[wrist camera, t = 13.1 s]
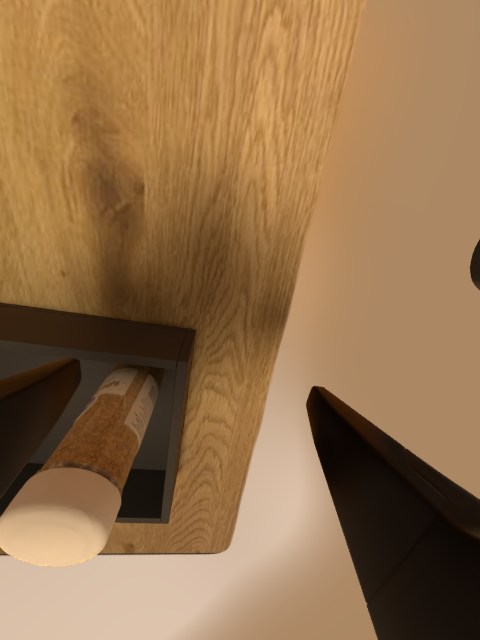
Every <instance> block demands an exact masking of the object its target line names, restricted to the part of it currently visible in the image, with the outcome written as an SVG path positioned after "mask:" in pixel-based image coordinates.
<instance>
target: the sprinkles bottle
mask: <svg viewBox="0 0 480 640" xmlns="http://www.w3.org/2000/svg"><path fill="white" fill-rule="evenodd" d="M166 375H167V369H164V368H155V367H147V366H138V365H129V364H120V363H118V364H117V366H116V367H115V368H114V370H113V371H112V372H111V374H110V375H109V376H108V377H107V378H106V379H105V381H104V382H103V383H102V385H101V386H100V388H99V389H98V390H97V392H96V393H95V395H94V396H93V397H92V399H91V400H90V402H89V403H88V404H87V406H86V407H85V409H84V410H83V411H82V413H81V414H80V415H79V417H78V418H77V419H76V421H75V422H74V424H73V426H72V428H71V429H70V430H69V432H68V433H67V435H66V436H65V437H64V439H63V440H62V441H61V443H60V444H59V446H58V447H57V448H56V450H55V451H54V453H53V454H52V455H51V457H50V458H49V459H48V461H47V462H46V463H45V464H44V466H43V468H42V469H41V470H39V471H38V472H37V473H36V475H34V476H33V477H31V478H30V479H29V480H28V481H27V482H26V483H25V484H24V486H23V487H22V488H21V490H20V491H19V492H18V494H17V495H16V496H15V497H14V499H13V500H12V502H11V503H10V504H9V506H8V507H7V509H6V510H5V511H4V513H3V514H2V516H1V517H0V547H1V549H3V550H4V551H5V552H6V553H7V554H9V555H10V556H12V557H14V558H16V559H18V560H21V561H24V562H27V563H31V564H35V565H40V566H55V567H59V566H69V565H75V564H79V563H82V562H85V561H87V560H89V559H91V558H93V557H94V556H96V555H97V554H98V553H99V552H100V551H101V550H102V549H103V548H104V546H105V545H106V543H107V540H108V538H109V535H110V533H111V530H112V528H113V525H114V523H115V520H116V517H117V514H118V512H119V509H120V506H121V495H122V490H123V487H124V485H125V482H126V480H127V477H128V474H129V471H130V469H131V466H132V463H133V460H134V458H135V456H136V454H137V452H138V450H139V448H140V445H141V442H142V439H143V436H144V434H145V431H146V428H147V425H148V423H149V420H150V417H151V414H152V412H153V409H154V406H155V403H156V401H157V398H158V395H159V389H160V386H161V384H162V382H163V381H164V379H165V377H166Z"/></svg>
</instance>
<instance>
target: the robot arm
mask: <svg viewBox="0 0 480 640" xmlns="http://www.w3.org/2000/svg"><path fill="white" fill-rule="evenodd" d="M80 382H81V366H80V361H79V360H78V359H76V358H63V359H60V360H57V361H54V362H52V363H49V364H46V365H43V366H40V367H37V368H34V369H31V370H29V371H26V372H23V373H20V374H17V375H14V376H11V377H8V378H6V379H3V380H0V499H1V497H2V496H3V495H4V493H5V492H6V491H7V489H8V488H9V487H10V485H11V484H12V483H13V481H14V480H15V478H16V477H17V476H18V474H19V473H20V472H21V470H22V469H23V468H24V466H25V465H26V464H27V462H28V461H29V460H30V458H31V457H32V455H33V454H34V453H35V451H36V450H37V449H38V447H39V446H40V445H41V443H42V442H43V441H44V439H45V438H46V437H47V435H48V434H49V433H50V431H51V430H52V428H53V427H54V426H55V424H56V423H57V421H58V420H59V418H60V417H61V415H62V413H63V412H64V410H65V408H66V407H67V405H68V403H69V402H70V400H71V398H72V396H73V395H74V393H75V391H76V390H77V388H78V386H79V385H80ZM306 407H307V412H308V417H309V422H310V426H311V431H312V435H313V439H314V444H315V447H316V450H317V453H318V457H319V460H320V463H321V466H322V469H323V472H324V475H325V478H326V481H327V484H328V487H329V490H330V493H331V496H332V499H333V503H334V506H335V508H336V512H337V515H338V518H339V521H340V524H341V527H342V530H343V533H344V536H345V539H346V543H347V546H348V549H349V552H350V555H351V558H352V561H353V564H354V567H355V570H356V573H357V576H358V579H359V582H360V585H361V589H362V592H363V594H364V598H365V601H366V603H368V604H367V608H368V611H369V614H370V617H371V620H372V623H373V626H374V629H375V632H376V635H377V638H378V640H480V499H478V498H477V497H475V496H474V495H472V494H471V493H469V492H468V491H466V490H465V489H463V488H462V487H460V486H459V485H457V484H456V483H454V482H453V481H451V480H450V479H449V478H447V477H446V476H444V475H443V474H441V473H440V472H438V471H437V470H435V469H434V468H433V467H431V466H430V465H428V464H427V463H426V462H424V461H423V460H422V459H420V458H419V457H417V456H416V455H415V454H413V453H412V452H411V451H409V450H408V449H405V447H404V446H402V445H401V444H400V443H398V442H397V441H396V440H394V439H393V438H391V437H390V436H389V435H387V434H386V433H385V432H383V431H382V430H381V429H379V428H378V427H377V426H375V425H374V424H373V423H371V422H370V421H368V420H367V419H366V418H364V417H363V416H362V415H360V414H359V413H358V412H356V411H355V410H354V409H352V408H351V407H349V406H348V405H347V404H345V403H344V402H343V401H341V400H340V399H338V398H337V397H336V396H335V395H333V394H332V393H330V392H329V391H328V390H326V389H325V388H324V387H319V386H313V387H312V389H311V391H310V394H309V396H308V399H307V403H306Z"/></svg>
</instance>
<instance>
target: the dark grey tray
mask: <svg viewBox="0 0 480 640" xmlns="http://www.w3.org/2000/svg"><path fill="white" fill-rule="evenodd" d="M195 335H196V330H192V329H185V328H177V327H170V326H163V325H156V324H148V323H141V322H134V321H127V320H120V319H112V318H105V317H98V316H91V315H84V314H76V313H69V312H62V311H55V310H48V309H40V308H33V307H26V306H19V305H11V304H4V303H0V380H3V379H6V378H8V377H11V376H14V375H17V374H20V373H23V372H26V371H29V370H31V369H34V368H37V367H40V366H43V365H46V364H49V363H52V362H54V361H57V360H60V359H63V358H76V359H78V360H79V361H80V366H81V382H80V385H79V386H78V388H77V390H76V391H75V393H74V395H73V396H72V398H71V400H70V402H69V403H68V405H67V407H66V408H65V410H64V412H63V413H62V415H61V417H60V418H59V420H58V421H57V423H56V424H55V426H54V427H53V428H52V430H51V431H50V433H49V434H48V435H47V437H46V438H45V439H44V441H43V442H42V443H41V445H40V446H39V447H38V449H37V450H36V451H35V453H34V454H33V455H32V457H31V458H30V460H29V461H28V462H27V464H26V465H25V466H24V468H23V469H22V470H21V472H20V473H19V474H18V476H17V477H16V478H15V480H14V481H13V483H12V484H11V485H10V487H9V488H8V489H7V491H6V492H5V493H4V495H3V496H2V497H1V499H0V517H1V516H2V514H3V513H4V511H5V510H6V509H7V507H8V506H9V504H10V503H11V502H12V500H13V499H14V497H15V496H16V495H17V494H18V492H19V491H20V490H21V488H22V487H23V486H24V484H25V483H26V482H27V481H28V480H29V479H30V478H31V477H33V476H34V475H36V473H37V472H38V471H39V470H41V469H42V468H43V466H44V464H45V463H46V462H47V461H48V459H49V458H50V457H51V455H52V454H53V453H54V451H55V450H56V448H57V447H58V446H59V444H60V443H61V441H62V440H63V439H64V437H65V436H66V435H67V433H68V432H69V430H70V429H71V428H72V426H73V424H74V422H75V421H76V419H77V418H78V417H79V415H80V414H81V413H82V411H83V410H84V409H85V407H86V406H87V404H88V403H89V402H90V400H91V399H92V397H93V396H94V395H95V393H96V392H97V390H98V389H99V388H100V386H101V385H102V383H103V382H104V381H105V379H106V378H107V377H108V376H109V375H110V374H111V372H112V371H113V370H114V368H115V367H116V366H117V364H118V363H120V364H129V365H138V366H147V367H155V368H164V369H167V375H166V377H165V379H164V381H163V382H162V384H161V386H160V389H159V395H158V398H157V401H156V403H155V406H154V409H153V412H152V414H151V417H150V420H149V423H148V425H147V428H146V431H145V434H144V436H143V439H142V442H141V445H140V448H139V450H138V452H137V454H136V456H135V458H134V460H133V463H132V466H131V469H130V471H129V474H128V477H127V480H126V482H125V485H124V487H123V490H122V495H121V506H120V509H119V512H118V514H117V517H116V520H115V522H118V523H158V524H160V523H162V524H168V522H169V517H170V511H171V505H172V500H173V494H174V489H175V483H176V477H177V472H178V465H179V457H180V449H181V442H182V434H183V426H184V419H185V411H186V403H187V396H188V388H189V381H190V373H191V365H192V358H193V350H194V342H195Z"/></svg>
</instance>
